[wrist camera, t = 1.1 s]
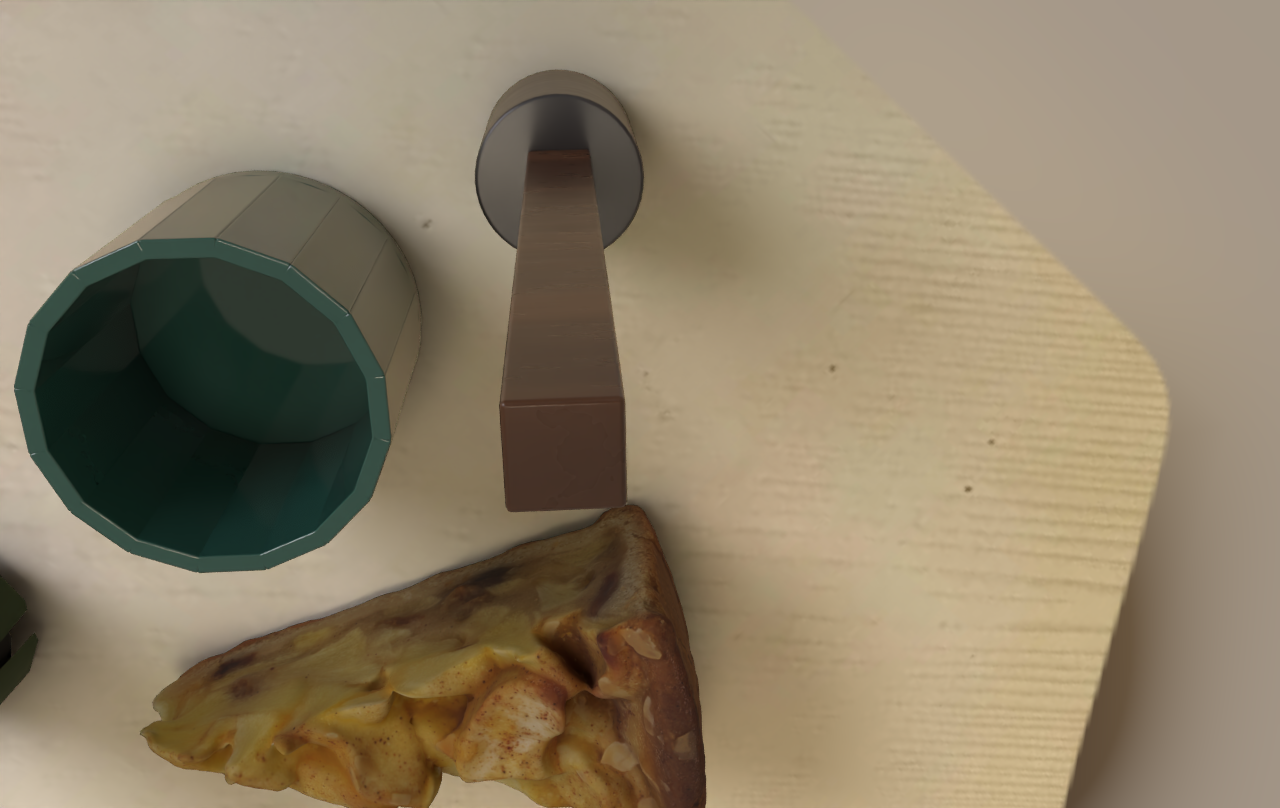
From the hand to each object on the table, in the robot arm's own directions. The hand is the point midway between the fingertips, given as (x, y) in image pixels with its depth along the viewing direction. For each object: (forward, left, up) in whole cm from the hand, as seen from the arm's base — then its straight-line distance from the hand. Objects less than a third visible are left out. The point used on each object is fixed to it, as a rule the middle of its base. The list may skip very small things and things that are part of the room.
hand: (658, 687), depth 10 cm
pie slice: (+18, -6, -28) cm, 33 cm away
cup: (+5, -10, -28) cm, 30 cm away
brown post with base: (0, -1, -28) cm, 28 cm away
